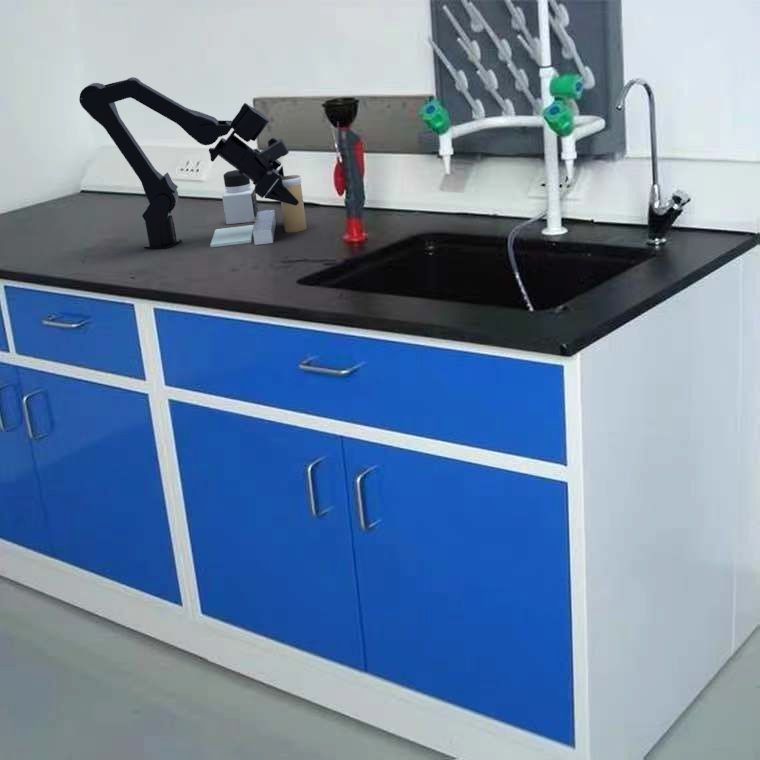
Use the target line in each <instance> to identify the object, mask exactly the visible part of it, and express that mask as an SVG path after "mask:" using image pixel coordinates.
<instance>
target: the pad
mask: <svg viewBox="0 0 760 760" xmlns="http://www.w3.org/2000/svg"><path fill="white" fill-rule="evenodd" d="M253 229H254V224H250V225H248V224H247V225H239V226H232V227H223V228H217V229H215V230H214V233H213V236H212V238H211V242H210V245H209V246H210V248H217V247H218V248H219V247H224V246H225V247H227V246H233V245H241V244H251V243H252V239H253V237H254V236H253Z"/></svg>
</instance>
